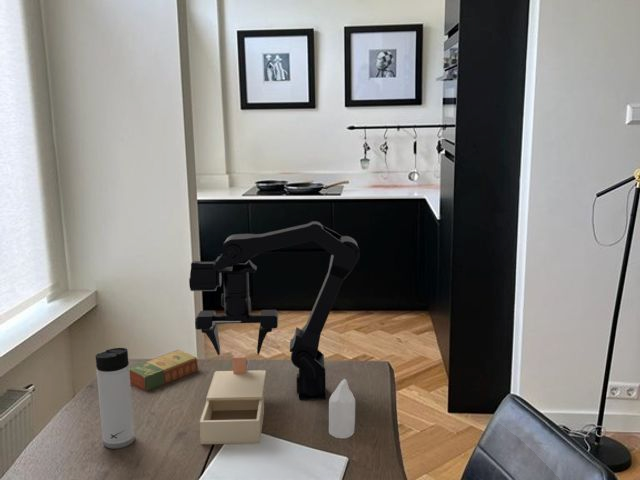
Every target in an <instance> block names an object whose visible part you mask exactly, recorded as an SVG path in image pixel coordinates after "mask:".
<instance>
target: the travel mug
mask: <svg viewBox="0 0 640 480" xmlns="http://www.w3.org/2000/svg"><path fill="white" fill-rule="evenodd" d="M95 363H96V378H97V392H98V400H99V401H98V403H99V412H100V413H99V414H100V424H101V425H100V426H101V433H102V444H103V446H104V447H106V448H108V449H113V450H115V449H122V448H126V447H127V446H130V445H131V444H132V443H133V442H134V441H135V440H136V437H135V434H136V433H135V422H134V413H133V412H134V411H133V398H132V397H133V396H132V388H131V387H132V384H130V371H129V368H130V363H129V353H128V348H126V347H115V348H110V349H106V350H105V351H103V352H100V353H99V352H98V353H97V354H96V355H95Z"/></svg>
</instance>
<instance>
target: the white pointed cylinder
mask: <svg viewBox="0 0 640 480" xmlns="http://www.w3.org/2000/svg"><path fill="white" fill-rule="evenodd" d="M355 426H356V398H355V396H354V394H353V392H352V390H351V389H350V388H349V384H348V380H347V379H346V378H343V379H342V380H341V381H340V382H339V384H338V385H337V387H336V389H335V390H334V391H333V392H332V393H331V396H330V397H329V400H328V433H329V435H331V436H332V437H334V438H336V439H343V440H344V439H348V438H350V437H352V436H353V434H355Z"/></svg>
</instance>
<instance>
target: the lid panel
mask: <svg viewBox="0 0 640 480" xmlns="http://www.w3.org/2000/svg"><path fill="white" fill-rule="evenodd" d="M247 366H248V365H247V355H245V354H244V355H242V354H241V355H236V354H235V355H232V370H219V371H218V370H216V371H214V373H213V377H212V379H211V382H210V385H209V389H208V391H207V395H206V399H205V400H206V401H208V400H254V399H262V396H263V390H264V388H265V383H266V381H265V380H266V375H267V371H266V370H265V369H264V370H260V369H258V370H254V369H253V370H247V369H248V368H247ZM206 401H205V402H206Z"/></svg>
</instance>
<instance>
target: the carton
mask: <svg viewBox="0 0 640 480" xmlns="http://www.w3.org/2000/svg"><path fill="white" fill-rule="evenodd" d="M198 365H199V364H198V358H197V356H195V355H193V354H190V353H187V352H185V351H183V350H180V349H177V350H174V351H172V352H168V353H166V354H163V355H161V356H158V357H155V358H153V359H150V360H147V361H143V362H141V363H139V364H136V365H133V366H129V371H130V384H131V386H134V387H136V388H137V389H141V390H143V391H145V392H147V391H150V390H152V389H155V388H157V387H160V386H162V385H164V384H168V383H170V382H173V381H175V380H178V379H179V378H183V377H184V376H188V375H190V374H192V373H196V372H197V371H198V370H199V369H198Z"/></svg>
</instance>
